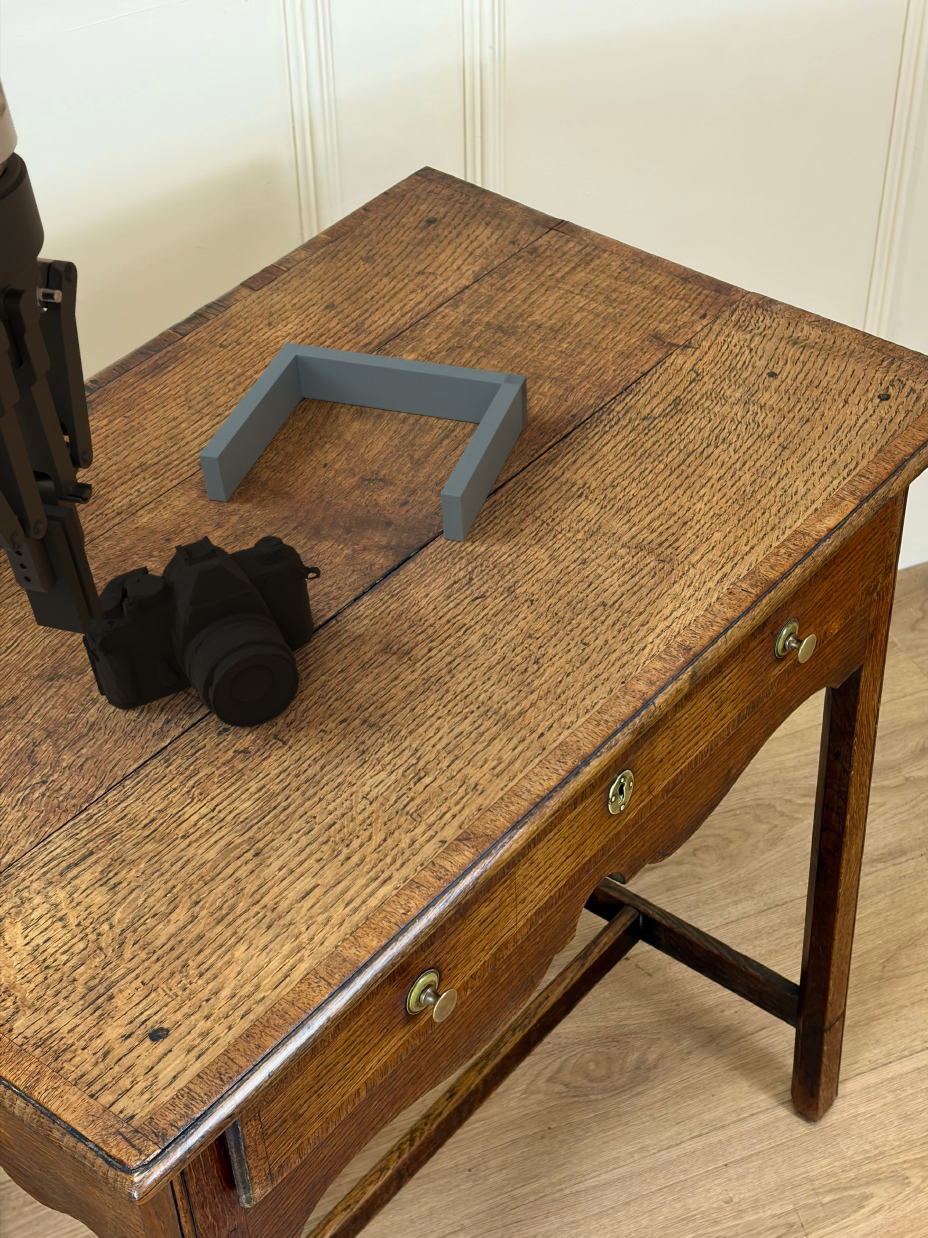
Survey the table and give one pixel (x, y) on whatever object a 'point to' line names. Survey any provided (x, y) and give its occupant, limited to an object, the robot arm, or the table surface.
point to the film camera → (206, 630)
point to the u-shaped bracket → (383, 387)
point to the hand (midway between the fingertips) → (70, 617)
